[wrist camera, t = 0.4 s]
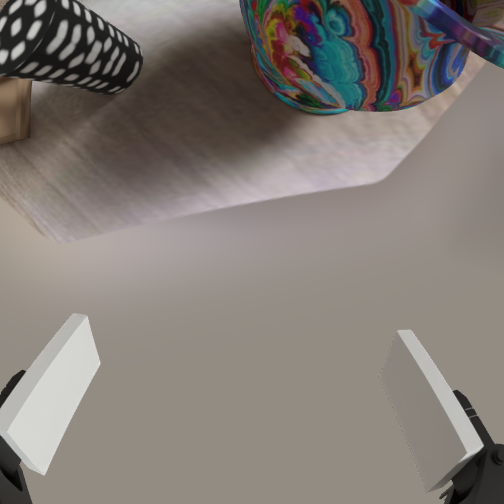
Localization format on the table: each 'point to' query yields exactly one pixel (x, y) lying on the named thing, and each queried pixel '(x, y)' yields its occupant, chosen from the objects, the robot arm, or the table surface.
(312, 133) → the table surface
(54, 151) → the table surface
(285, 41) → the vase
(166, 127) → the table surface
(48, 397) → the robot arm
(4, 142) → the tray
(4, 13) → the spotted tube
